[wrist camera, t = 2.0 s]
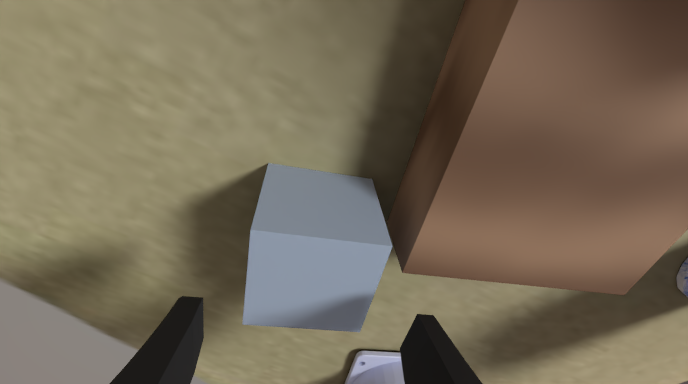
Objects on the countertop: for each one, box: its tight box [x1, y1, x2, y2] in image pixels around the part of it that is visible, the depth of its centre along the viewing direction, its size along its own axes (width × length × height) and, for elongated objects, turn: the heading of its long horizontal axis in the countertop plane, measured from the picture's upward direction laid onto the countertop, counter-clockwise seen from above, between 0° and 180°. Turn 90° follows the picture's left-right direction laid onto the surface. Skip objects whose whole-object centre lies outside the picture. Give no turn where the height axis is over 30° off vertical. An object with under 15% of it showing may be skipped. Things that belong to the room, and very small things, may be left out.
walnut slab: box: [387, 0, 688, 295], centre depth 14 cm, size 12×12×4 cm
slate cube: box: [243, 163, 393, 332], centre depth 15 cm, size 5×5×5 cm
